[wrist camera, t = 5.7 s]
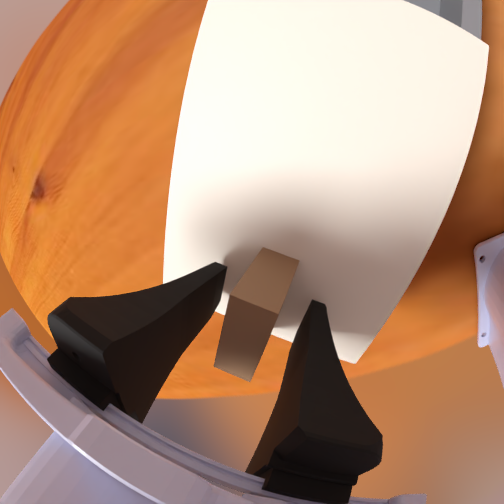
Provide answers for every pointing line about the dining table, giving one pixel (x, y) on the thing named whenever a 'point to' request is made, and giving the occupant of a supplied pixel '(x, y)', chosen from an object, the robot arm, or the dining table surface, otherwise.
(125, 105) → the dining table surface
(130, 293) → the robot arm
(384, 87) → the lid
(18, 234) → the dining table surface
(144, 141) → the dining table surface
